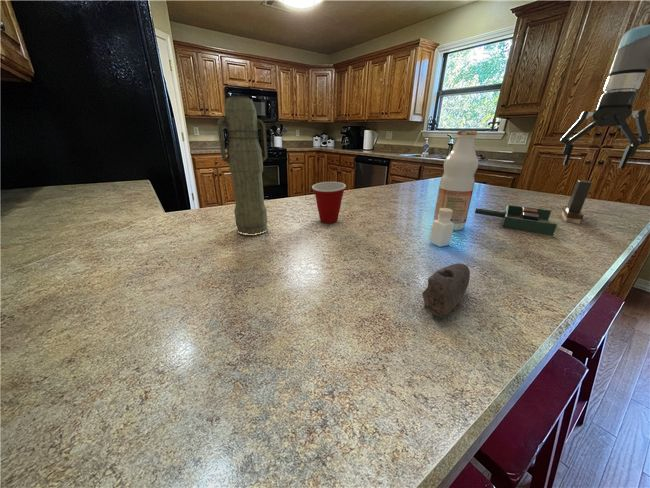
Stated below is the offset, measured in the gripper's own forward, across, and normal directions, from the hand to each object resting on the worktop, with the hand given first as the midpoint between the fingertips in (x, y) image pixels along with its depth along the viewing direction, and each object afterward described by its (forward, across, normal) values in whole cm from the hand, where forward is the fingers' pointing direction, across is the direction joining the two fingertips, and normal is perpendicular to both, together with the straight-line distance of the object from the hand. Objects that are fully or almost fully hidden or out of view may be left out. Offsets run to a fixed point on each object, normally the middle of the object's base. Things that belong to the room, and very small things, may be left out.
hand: (591, 166), depth 87 cm
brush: (+18, +1, 0) cm, 18 cm away
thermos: (+17, +82, +73) cm, 111 cm away
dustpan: (+18, +18, +16) cm, 30 cm away
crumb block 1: (+18, +14, +12) cm, 25 cm away
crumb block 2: (+18, +14, +19) cm, 29 cm away
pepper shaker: (+18, +34, +51) cm, 63 cm away
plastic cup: (+17, +68, +52) cm, 88 cm away
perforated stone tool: (+18, +27, +78) cm, 84 cm away
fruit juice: (+18, +34, +34) cm, 51 cm away
